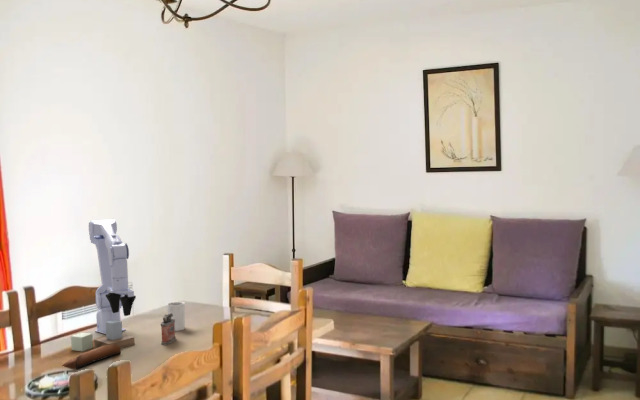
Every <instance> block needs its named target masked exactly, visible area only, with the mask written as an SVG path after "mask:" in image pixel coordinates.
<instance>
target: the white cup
mask: <svg viewBox="0 0 640 400" xmlns="http://www.w3.org/2000/svg"><path fill="white" fill-rule="evenodd" d="M166 305H167V315H168V314H169V313H173V316H172V317H171V319H175V332H176V331H177V332H178V331H183V330H184V329H185V317H186V315H185V313H186V312H185V308H186V306H185V305H186V304H185V301H184V302H183V301H172V302H168V303H167V304H166Z"/></svg>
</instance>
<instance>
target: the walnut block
mask: <svg viewBox="0 0 640 400" xmlns="http://www.w3.org/2000/svg"><path fill="white" fill-rule="evenodd" d="M110 344H116V345H118V346H119V347H120V349H122V348H126V347H129V346H133V345H135V336H131V335H127V334H124V333H122V338H120V339H116V340H110V339H106V335H105V336H102V337H99V338H93V347H95V348H98V347H101V346H105V345H110Z"/></svg>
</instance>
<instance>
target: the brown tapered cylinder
mask: <svg viewBox="0 0 640 400" xmlns="http://www.w3.org/2000/svg"><path fill="white" fill-rule="evenodd" d="M121 349H122V348H120V347H119V346H118V345H116V344H110V345H105V346H101V347H95V348H94V349H90V350H86V351H84V352H82V353H80V354H79V355H78V356H76V357H74V358H71V359H70V360H68V361H66V362H65V363H63V364H62V365H61V366H62V367H63V366H64V368H68V369H71V370H72V369H73V370H78V369H80V368H83V367H85V366H87V365H90V364H92V363H93V362H97V361H100V360H102V359H105V358H109V357H111V356H115V355H121V353H122V350H121Z"/></svg>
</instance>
